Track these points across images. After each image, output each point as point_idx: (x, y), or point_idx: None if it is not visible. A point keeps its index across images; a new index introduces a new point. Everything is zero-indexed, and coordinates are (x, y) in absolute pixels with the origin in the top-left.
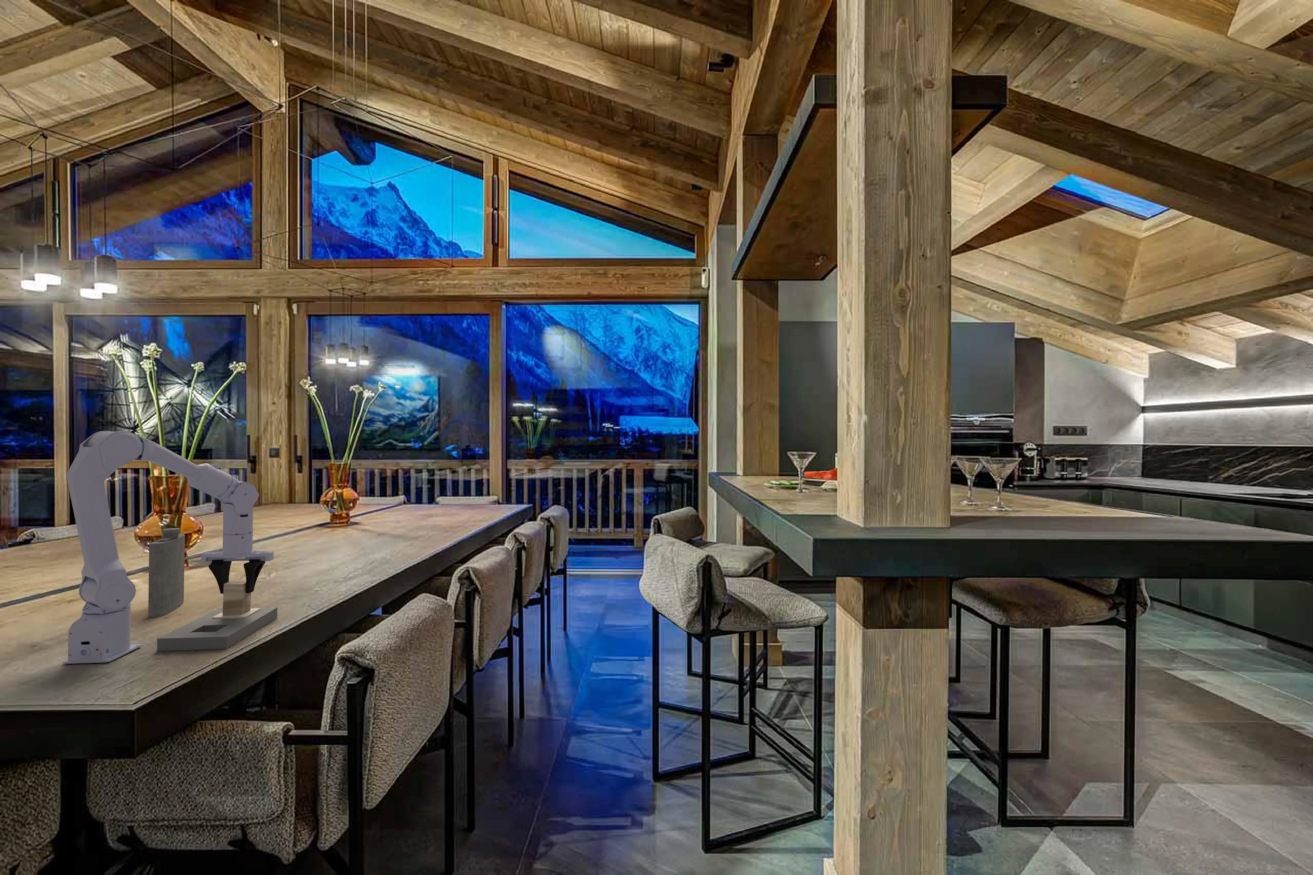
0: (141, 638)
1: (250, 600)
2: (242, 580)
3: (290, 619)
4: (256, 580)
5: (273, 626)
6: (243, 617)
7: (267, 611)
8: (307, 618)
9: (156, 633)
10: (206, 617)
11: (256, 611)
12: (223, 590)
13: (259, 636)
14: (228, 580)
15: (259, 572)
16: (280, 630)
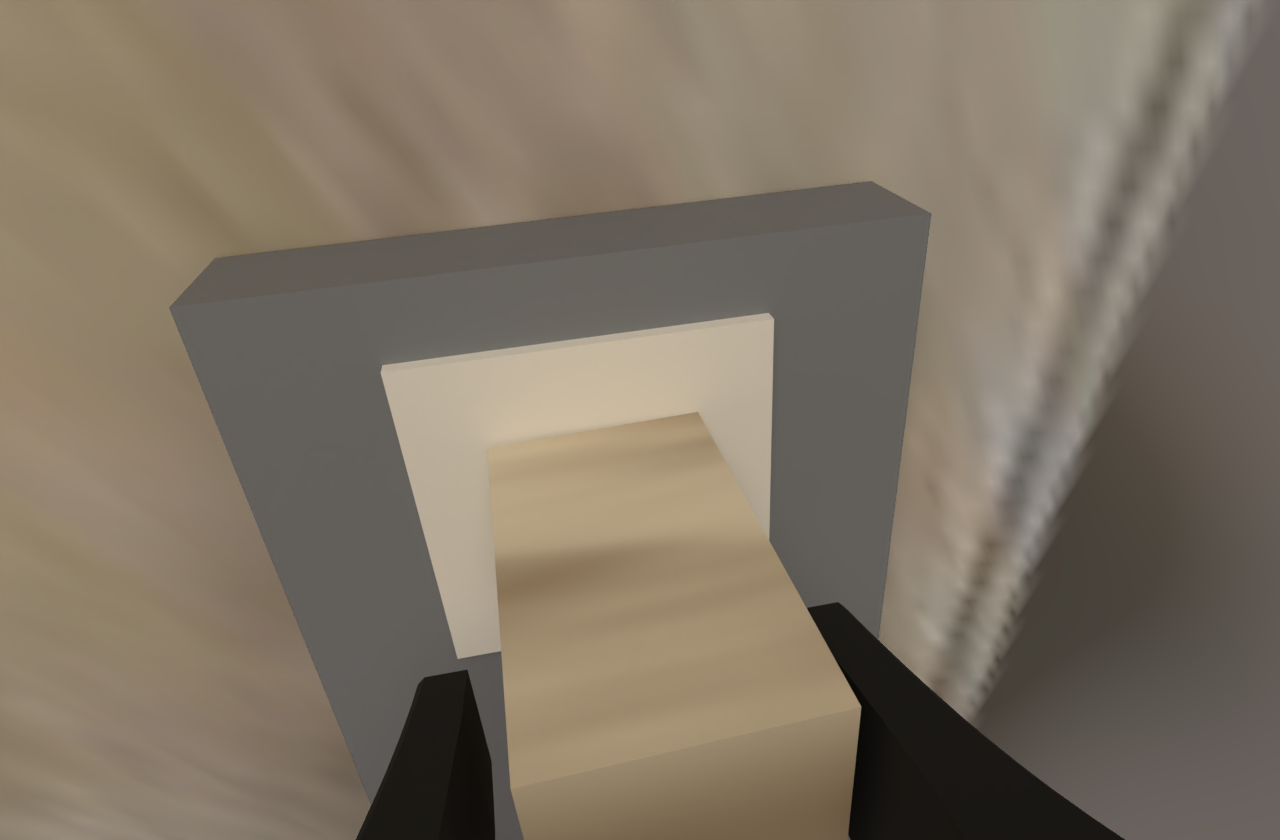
0: (61, 779)
1: (734, 487)
2: (710, 767)
3: (1016, 234)
4: (955, 713)
5: (928, 446)
6: None
7: (878, 388)
8: (1168, 194)
9: (40, 687)
10: (366, 623)
11: (767, 411)
12: (490, 805)
13: (910, 644)
14: (442, 825)
15: (1104, 837)
16: (1010, 527)
